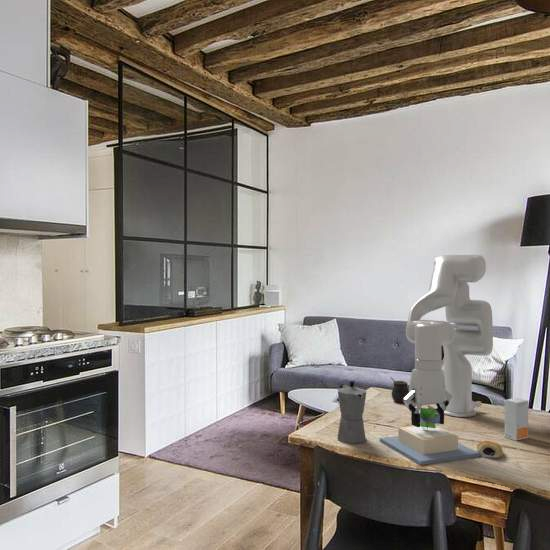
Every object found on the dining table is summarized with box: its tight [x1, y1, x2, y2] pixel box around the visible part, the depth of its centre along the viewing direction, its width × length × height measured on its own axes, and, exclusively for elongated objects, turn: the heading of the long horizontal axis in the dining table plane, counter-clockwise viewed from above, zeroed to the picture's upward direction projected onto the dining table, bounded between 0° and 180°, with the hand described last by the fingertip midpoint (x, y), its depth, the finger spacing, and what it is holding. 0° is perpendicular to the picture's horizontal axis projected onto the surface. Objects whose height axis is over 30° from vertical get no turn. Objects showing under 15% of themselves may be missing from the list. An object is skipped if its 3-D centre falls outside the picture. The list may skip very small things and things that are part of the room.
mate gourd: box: [390, 377, 409, 404], centre depth 196 cm, size 7×8×10 cm
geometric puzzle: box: [418, 405, 440, 431], centre depth 142 cm, size 7×7×8 cm
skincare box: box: [504, 397, 529, 442], centre depth 152 cm, size 6×4×12 cm
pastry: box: [476, 440, 504, 459], centre depth 139 cm, size 9×7×4 cm
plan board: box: [379, 425, 481, 466], centre depth 142 cm, size 20×20×5 cm
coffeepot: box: [337, 380, 367, 444], centre depth 151 cm, size 15×9×18 cm, turn 16°
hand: (427, 424), depth 142 cm, fingers closed on geometric puzzle, 7 cm apart
